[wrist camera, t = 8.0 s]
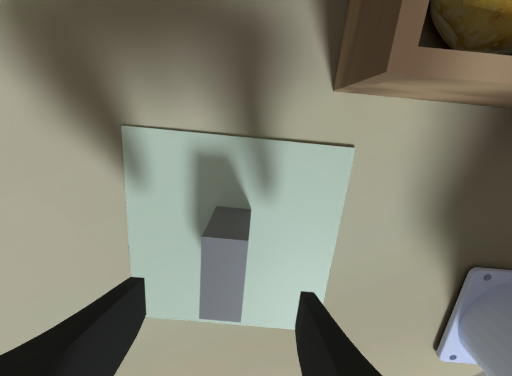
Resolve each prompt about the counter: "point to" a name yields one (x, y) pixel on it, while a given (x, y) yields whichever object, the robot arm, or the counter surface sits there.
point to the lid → (231, 223)
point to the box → (414, 59)
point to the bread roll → (474, 24)
